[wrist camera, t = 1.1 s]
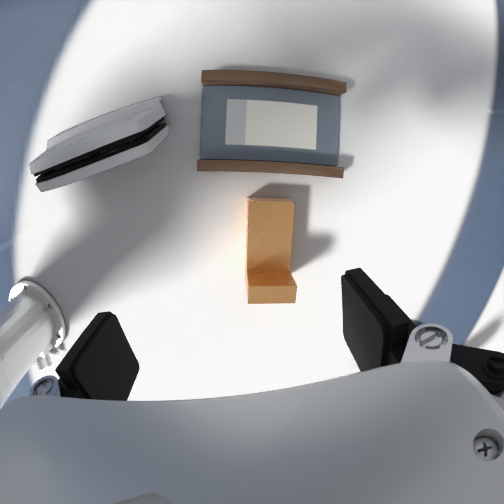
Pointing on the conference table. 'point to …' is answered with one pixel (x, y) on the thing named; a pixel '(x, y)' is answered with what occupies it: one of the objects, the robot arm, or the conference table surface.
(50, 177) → the grey slotted curved block
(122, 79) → the conference table surface
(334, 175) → the bay walls
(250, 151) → the bay mat
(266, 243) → the bracket
